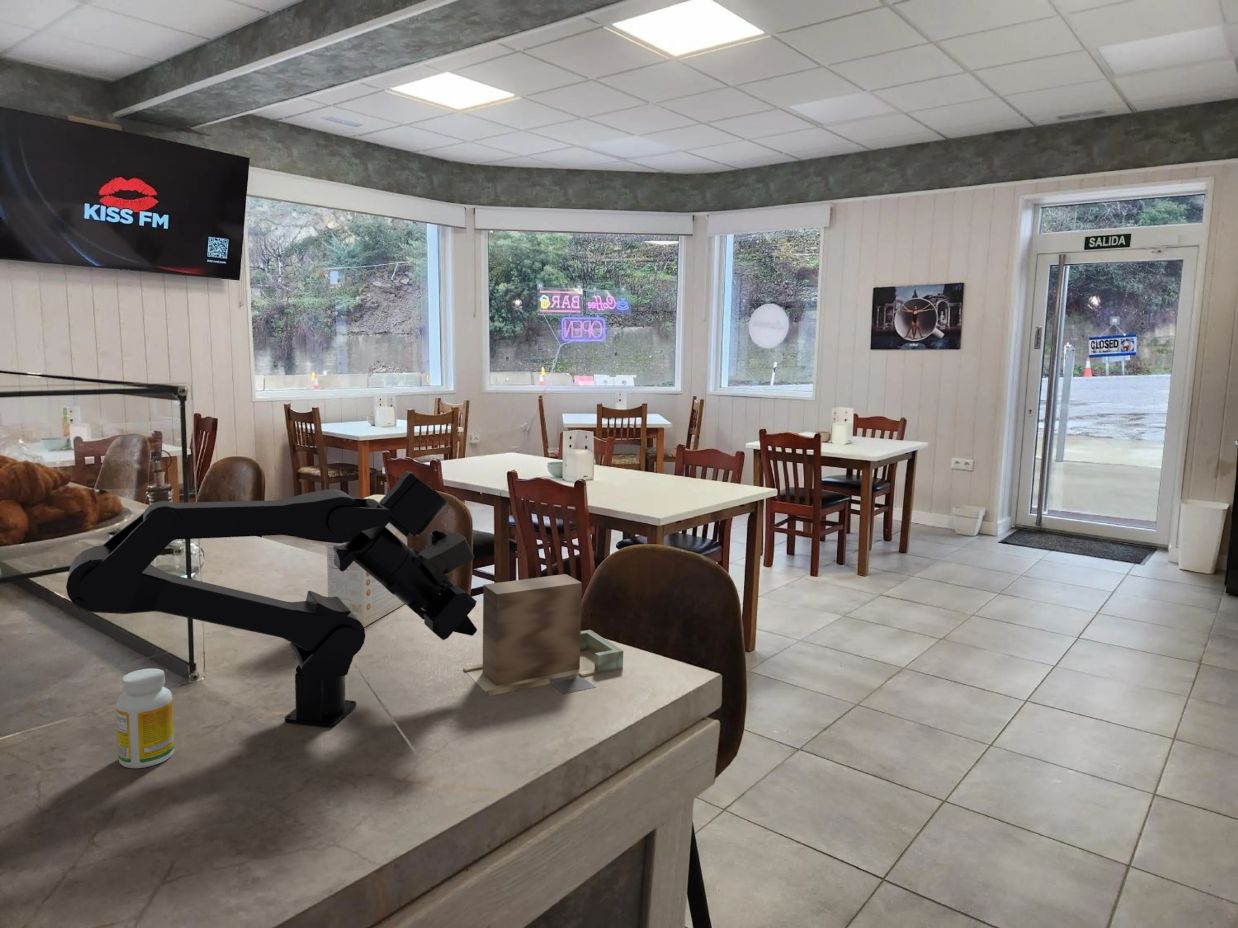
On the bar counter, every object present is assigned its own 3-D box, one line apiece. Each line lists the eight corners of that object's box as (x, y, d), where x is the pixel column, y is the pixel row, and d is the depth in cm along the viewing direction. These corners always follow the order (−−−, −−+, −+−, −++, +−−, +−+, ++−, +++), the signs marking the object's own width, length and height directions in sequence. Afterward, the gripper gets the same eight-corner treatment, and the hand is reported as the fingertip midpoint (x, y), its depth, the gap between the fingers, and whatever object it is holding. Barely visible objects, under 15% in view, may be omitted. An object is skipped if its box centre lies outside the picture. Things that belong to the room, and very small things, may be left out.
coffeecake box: (374, 598, 149) (373, 493, 146) (409, 602, 147) (409, 496, 144) (325, 623, 134) (323, 508, 132) (363, 628, 133) (362, 512, 130)
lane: (501, 709, 105) (501, 687, 104) (453, 661, 120) (453, 642, 120) (637, 680, 115) (638, 659, 115) (577, 639, 131) (578, 621, 130)
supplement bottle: (109, 770, 87) (104, 685, 86) (133, 746, 92) (129, 665, 91) (161, 769, 88) (157, 684, 86) (183, 745, 93) (179, 665, 92)
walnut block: (496, 685, 111) (497, 594, 109) (482, 672, 115) (483, 584, 114) (579, 669, 118) (581, 582, 116) (563, 657, 122) (565, 574, 120)
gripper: (460, 530, 98) (541, 605, 105) (414, 503, 114) (487, 570, 121) (396, 602, 95) (484, 674, 102) (358, 564, 111) (436, 629, 118)
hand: (474, 632), depth 111 cm, fingers closed
